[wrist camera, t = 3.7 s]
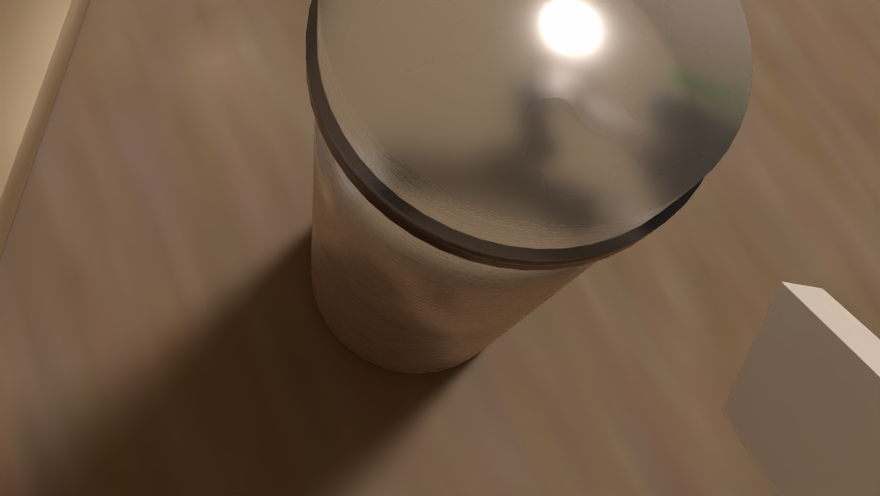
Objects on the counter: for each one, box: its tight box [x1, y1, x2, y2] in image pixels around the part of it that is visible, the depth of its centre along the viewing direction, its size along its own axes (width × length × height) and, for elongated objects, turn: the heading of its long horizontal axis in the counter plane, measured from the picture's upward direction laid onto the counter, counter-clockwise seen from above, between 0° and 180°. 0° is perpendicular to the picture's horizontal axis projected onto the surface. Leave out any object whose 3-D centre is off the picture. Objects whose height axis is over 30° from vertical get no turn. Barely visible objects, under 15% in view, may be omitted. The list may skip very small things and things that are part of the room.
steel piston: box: [306, 0, 752, 374], centre depth 15 cm, size 6×6×12 cm
